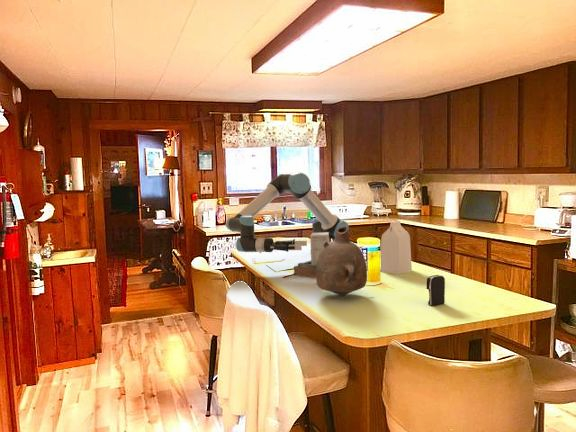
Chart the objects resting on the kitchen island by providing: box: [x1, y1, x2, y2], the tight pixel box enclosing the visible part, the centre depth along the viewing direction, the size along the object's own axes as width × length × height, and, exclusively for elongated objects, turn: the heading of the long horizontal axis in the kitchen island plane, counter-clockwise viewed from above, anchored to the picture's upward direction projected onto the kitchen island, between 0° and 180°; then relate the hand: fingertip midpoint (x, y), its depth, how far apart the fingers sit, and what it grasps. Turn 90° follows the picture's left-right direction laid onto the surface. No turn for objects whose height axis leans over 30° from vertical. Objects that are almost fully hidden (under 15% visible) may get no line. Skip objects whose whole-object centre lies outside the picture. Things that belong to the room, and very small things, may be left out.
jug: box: [315, 226, 368, 297], centre depth 203 cm, size 24×21×30 cm
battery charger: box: [426, 274, 446, 307], centre depth 188 cm, size 7×4×11 cm, turn 117°
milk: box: [380, 220, 413, 275], centre depth 248 cm, size 12×12×26 cm
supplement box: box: [309, 232, 329, 265], centre depth 248 cm, size 10×9×17 cm
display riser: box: [293, 259, 317, 279], centre depth 249 cm, size 20×20×6 cm
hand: (304, 245), depth 250 cm, fingers open, 13 cm apart
